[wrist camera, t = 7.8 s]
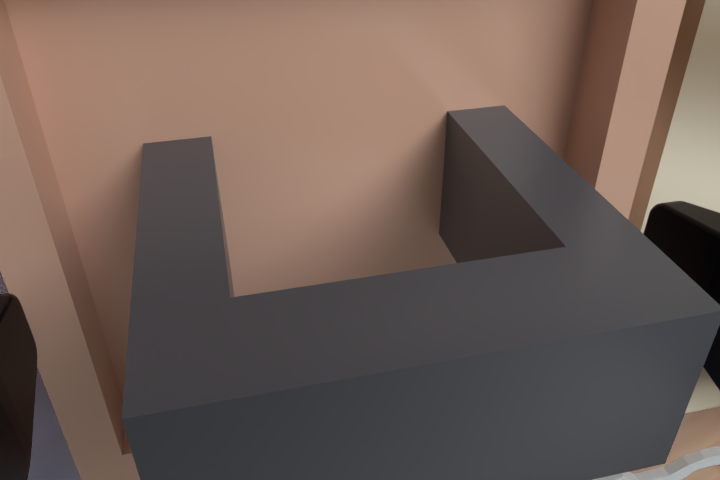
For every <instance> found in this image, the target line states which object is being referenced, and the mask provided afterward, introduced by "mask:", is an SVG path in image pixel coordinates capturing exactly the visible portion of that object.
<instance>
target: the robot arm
mask: <svg viewBox="0 0 720 480" xmlns="http://www.w3.org/2000/svg"><path fill="white" fill-rule="evenodd" d="M643 234H644V235H645V236H646V237H647V238H648V239H649V240H650V241H651V242H652V243H654V244H655V245H656V246H657V247H658V248H659V249H660V250H661V251H662V252H663V253H664V254H665V255H667V256H668V257H669V258H670V259H671V260H672V261H673V262H674V263H675V264H676V265H677V266H678V267H679V268H681V269H682V270H683V271H684V272H685V273H686V274H687V275H688V276H689V277H690V278H691V279H692V280H693V281H695V282H696V283H697V284H698V285H699V286H700V287H701V288H702V289H703V290H704V291H705V292H706V293H707V294H709V295H710V296H711V297H712V298H713V299H714V300H715V301H716V302H717V303H718V304H719V305H720V213H719V212H716V211H713V210H710V209H706V208H703V207H700V206H697V205H694V204H691V203H688V202H684V201H673V202H666V203H659V204H657V205H655V206H654V207H653V208H652V209H651V210H650V213H649V216H648V219H647V223H646V226H645V230H644V233H643ZM703 368H704V370H705V371H706V372H707V374H708V375H709V377H710V378H711V379H712V381H713V382H714V384H715V385H716V386H717V388H718V389H719V391H720V325H719V328H718V331H717V333H716V336H715V338H714V341H713V343H712V346H711V348H710V351H709V353H708V356H707V358H706V361H705V363H704V366H703ZM36 373H37V347H36V343H35V339H34V337H33V334H32V332H31V329H30V326H29V324H28V321H27V318H26V316H25V313H24V310H23V308H22V305H21V303H20V301H19V299H18V298H17V297H16V296H15V295H14V294H11V293H7V294H0V480H27V478H28V472H29V467H30V458H31V447H32V432H33V418H34V403H35V388H36Z"/></svg>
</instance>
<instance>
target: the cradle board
mask: <svg viewBox="0 0 720 480" xmlns="http://www.w3.org/2000/svg"><path fill="white" fill-rule="evenodd" d="M673 201H684V202H688V203H691V204H694V205H697V206H700V207H703V208H706V209H710V210H713V211H716V212H719V213H720V0H686V4H685V8H684V11H683V15H682V19H681V23H680V26H679V30H678V34H677V38H676V42H675V45H674V49H673V53H672V57H671V60H670V64H669V68H668V72H667V75H666V79H665V83H664V87H663V90H662V94H661V98H660V102H659V106H658V109H657V113H656V117H655V121H654V124H653V128H652V132H651V136H650V139H649V143H648V147H647V151H646V154H645V158H644V162H643V166H642V169H641V173H640V177H639V181H638V185H637V188H636V192H635V196H634V200H633V203H632V207H631V211H630V215H629V218H628V220H629V221H630V222H631V223H632V224H633V225H634V226H635V227H636V228H637V229H638V230H640V231H641V232H642V233H644V230H645V226H646V223H647V219H648V216H649V213H650V210H651V209H652V208H653V207H654V206H655V205H657V204H659V203H666V202H673ZM718 406H720V391H719V389H718V388H717V386H716V385H715V384H714V382H713V381H712V379H711V378H710V377H709V375H708V374H707V372H706V371H705V370H704V368H702V371H701V374H700V376H699V379H698V381H697V384H696V386H695V389H694V391H693V394H692V396H691V399H690V401H689V404H688V406H687V409H686V411H685V413H690V412H694V411H699V410H704V409H709V408H714V407H718Z"/></svg>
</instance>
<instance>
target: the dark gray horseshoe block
mask: <svg viewBox="0 0 720 480" xmlns="http://www.w3.org/2000/svg"><path fill="white" fill-rule="evenodd" d="M439 235H440V236H441V238H442V240H443V241H444V243H445V245H446V246H447V248H448V249H449V251H450V253H451V254H452V256H453V258H454V259H455V261H456V263H455V264H449V265H442V266H435V267H429V268H422V269H416V270H409V271H403V272H396V273H389V274H383V275H376V276H370V277H363V278H356V279H350V280H343V281H337V282H330V283H323V284H317V285H310V286H304V287H297V288H290V289H284V290H277V291H271V292H264V293H257V294H251V295H244V296H238V297H234V291H233V283H232V275H231V267H230V260H229V253H228V246H227V240H226V233H225V226H224V219H223V213H222V206H221V199H220V192H219V186H218V179H217V172H216V165H215V158H214V152H213V145H212V138H211V136H209V137H199V138H190V139H180V140H171V141H161V142H152V143H143V154H142V167H141V179H140V192H139V204H138V217H137V229H136V242H135V254H134V267H133V279H132V292H131V304H130V317H129V329H128V342H127V354H126V367H125V379H124V392H123V404H122V417H121V420H122V423H123V426H124V429H125V433H126V436H127V439H128V442H129V445H130V448H131V452H132V455H133V458H134V461H135V464H136V468H137V471H138V474H139V477H140V480H593V479H598V478H602V477H607V476H611V475H615V474H620V473H624V472H629V471H633V470H638V469H642V468H646V467H651V466H655V465H660V464H664V463H665V462H666V460H667V457H668V454H669V452H670V449H671V447H672V444H673V442H674V439H675V437H676V434H677V432H678V429H679V427H680V424H681V422H682V419H683V417H684V414H685V411H686V409H687V406H688V404H689V401H690V399H691V396H692V394H693V391H694V389H695V386H696V384H697V381H698V379H699V376H700V374H701V371H702V368H703V366H704V363H705V361H706V358H707V356H708V353H709V351H710V348H711V346H712V343H713V341H714V338H715V336H716V333H717V331H718V328H719V325H720V305H719V304H718V303H717V302H716V301H715V300H714V299H713V298H712V297H711V296H710V295H709V294H707V293H706V292H705V291H704V290H703V289H702V288H701V287H700V286H699V285H698V284H697V283H696V282H695V281H693V280H692V279H691V278H690V277H689V276H688V275H687V274H686V273H685V272H684V271H683V270H682V269H681V268H679V267H678V266H677V265H676V264H675V263H674V262H673V261H672V260H671V259H670V258H669V257H668V256H667V255H665V254H664V253H663V252H662V251H661V250H660V249H659V248H658V247H657V246H656V245H655V244H654V243H652V242H651V241H650V240H649V239H648V238H647V237H646V236H645V235H644V234H643V233H642V232H641V231H640V230H638V229H637V228H636V227H635V226H634V225H633V224H632V223H631V222H630V221H629V220H628V219H627V218H626V217H624V216H623V215H622V214H621V213H620V212H619V211H618V210H617V209H616V208H615V207H614V206H613V205H612V204H610V203H609V202H608V201H607V200H606V199H605V198H604V197H603V196H602V195H601V194H600V193H599V192H598V191H596V190H595V189H594V188H593V187H592V186H591V185H590V184H589V183H588V182H587V181H586V180H585V179H584V178H582V177H581V176H580V175H579V174H578V173H577V172H576V171H575V170H574V169H573V168H572V167H571V166H570V165H568V164H567V163H566V162H565V161H564V160H563V159H562V158H561V157H560V156H559V155H558V154H557V153H556V152H554V151H553V150H552V149H551V148H550V147H549V146H548V145H547V144H546V143H545V142H544V141H543V140H542V139H540V138H539V137H538V136H537V135H536V134H535V133H534V132H533V131H532V130H531V129H530V128H529V127H527V126H526V125H525V124H524V123H523V122H522V121H521V120H520V119H519V118H518V117H517V116H516V115H515V114H513V113H512V112H511V111H510V110H509V109H508V108H507V107H506V106H505V105H502V106H493V107H483V108H474V109H464V110H455V111H447V126H446V140H445V154H444V168H443V182H442V196H441V210H440V225H439Z"/></svg>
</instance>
